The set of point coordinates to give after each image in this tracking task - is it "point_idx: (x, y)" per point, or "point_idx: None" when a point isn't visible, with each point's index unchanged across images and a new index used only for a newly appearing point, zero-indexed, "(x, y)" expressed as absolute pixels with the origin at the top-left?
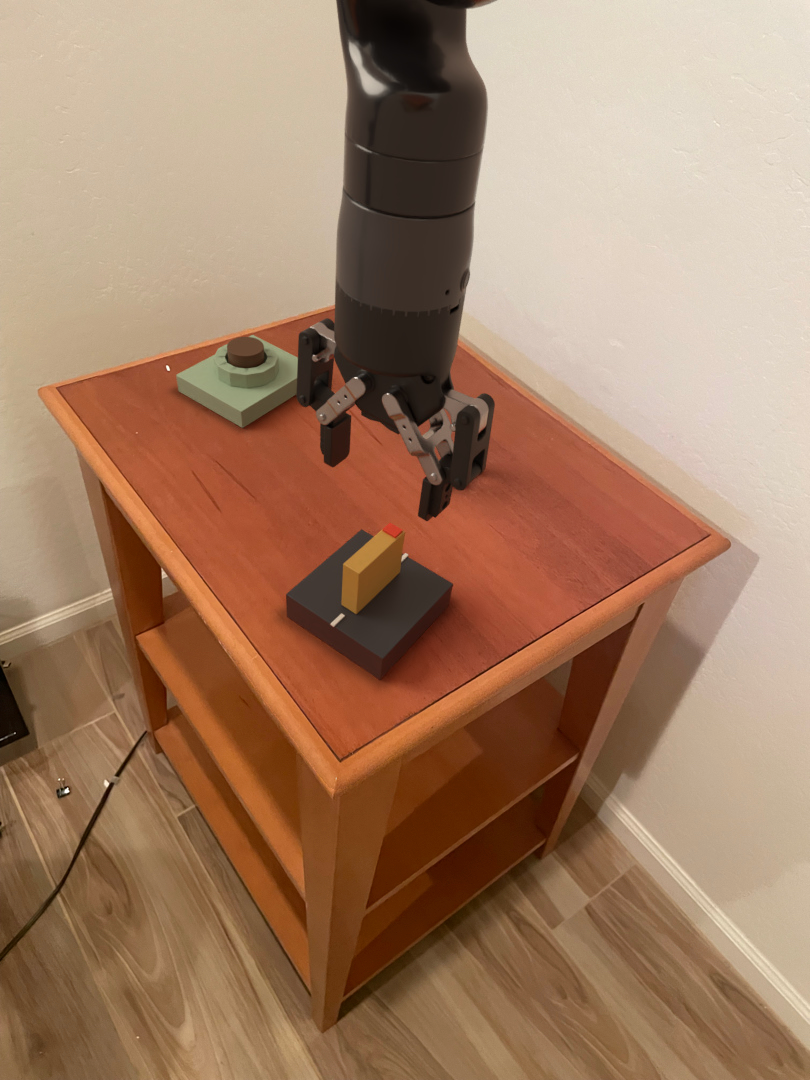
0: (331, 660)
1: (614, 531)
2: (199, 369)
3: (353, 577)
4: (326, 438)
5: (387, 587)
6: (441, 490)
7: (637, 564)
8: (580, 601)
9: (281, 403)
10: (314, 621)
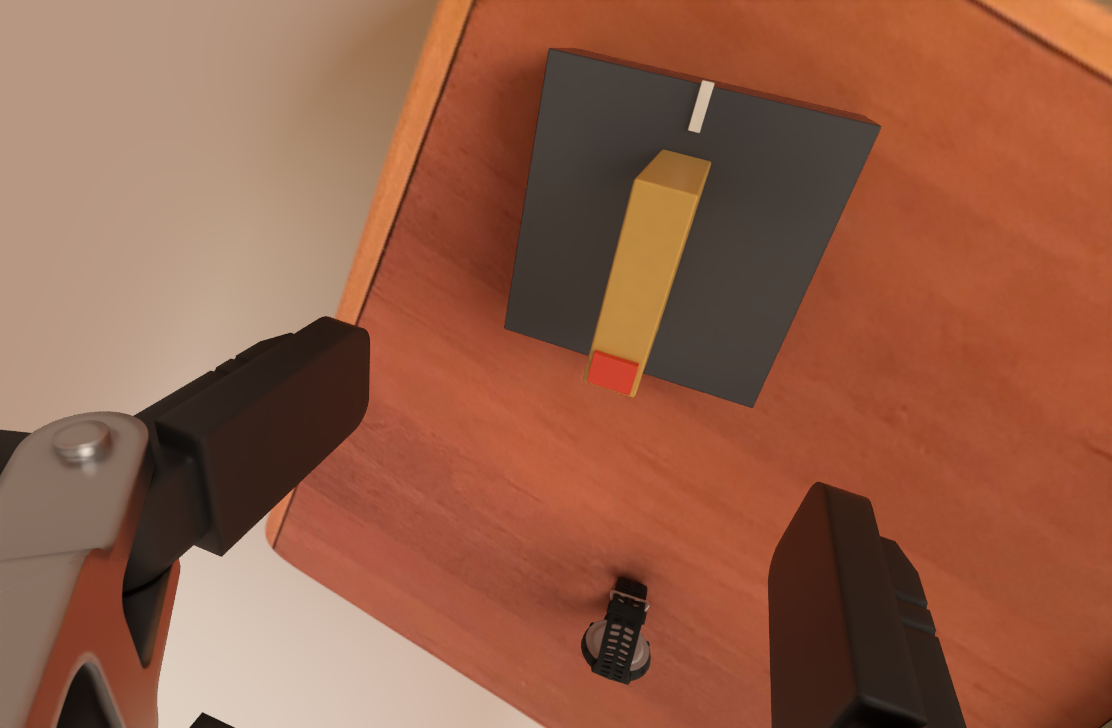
0: (700, 43)
1: (370, 531)
2: None
3: (659, 177)
4: (884, 625)
5: None
6: (151, 409)
7: (319, 480)
8: None
9: (1104, 725)
10: (771, 97)
